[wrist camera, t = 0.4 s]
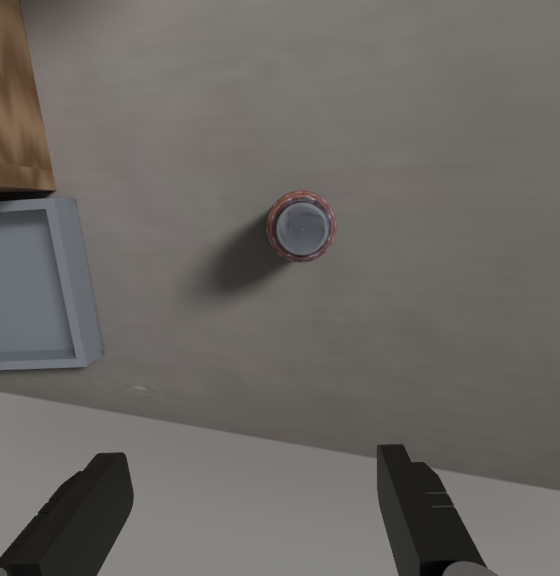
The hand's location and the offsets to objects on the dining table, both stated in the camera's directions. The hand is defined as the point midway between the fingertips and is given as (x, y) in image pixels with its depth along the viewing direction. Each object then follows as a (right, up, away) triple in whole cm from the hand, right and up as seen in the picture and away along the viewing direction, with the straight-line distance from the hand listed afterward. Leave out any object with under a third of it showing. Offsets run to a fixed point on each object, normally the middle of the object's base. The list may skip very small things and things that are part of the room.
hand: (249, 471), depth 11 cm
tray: (-28, +6, +29) cm, 40 cm away
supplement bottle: (+3, +13, +26) cm, 29 cm away
